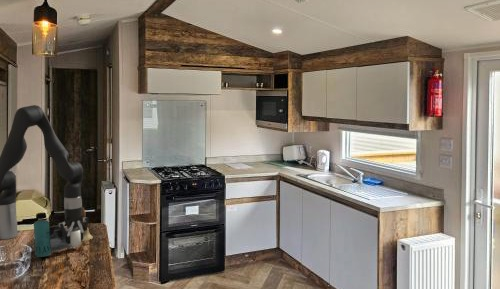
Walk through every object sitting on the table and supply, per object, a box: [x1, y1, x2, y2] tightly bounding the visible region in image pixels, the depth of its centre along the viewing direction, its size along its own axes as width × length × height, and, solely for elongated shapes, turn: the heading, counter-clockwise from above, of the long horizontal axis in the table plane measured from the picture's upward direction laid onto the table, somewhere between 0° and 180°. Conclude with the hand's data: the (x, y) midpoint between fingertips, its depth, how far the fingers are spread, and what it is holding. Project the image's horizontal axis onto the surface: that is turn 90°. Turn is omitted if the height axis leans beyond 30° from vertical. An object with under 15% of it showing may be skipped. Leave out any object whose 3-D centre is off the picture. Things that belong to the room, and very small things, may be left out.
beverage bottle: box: [33, 212, 52, 258], centre depth 188 cm, size 6×7×20 cm
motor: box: [49, 224, 71, 253], centre depth 200 cm, size 17×8×10 cm, turn 138°
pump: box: [69, 227, 82, 248], centre depth 199 cm, size 5×5×8 cm
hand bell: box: [81, 206, 94, 242], centre depth 213 cm, size 8×8×16 cm
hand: (74, 241), depth 199 cm, fingers closed on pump, 5 cm apart
